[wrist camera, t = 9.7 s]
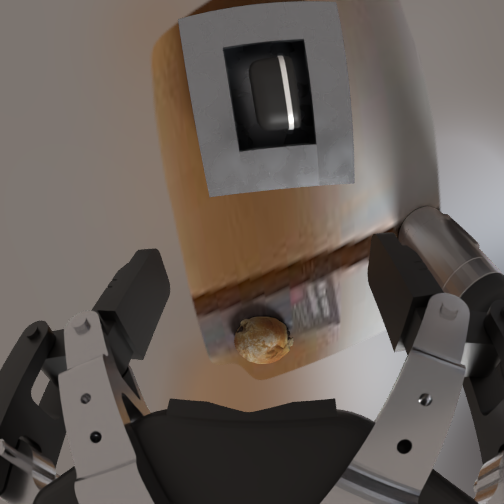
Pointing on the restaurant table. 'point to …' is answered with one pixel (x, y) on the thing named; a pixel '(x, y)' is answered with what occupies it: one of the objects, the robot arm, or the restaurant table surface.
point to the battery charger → (275, 93)
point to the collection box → (241, 100)
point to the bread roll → (262, 339)
